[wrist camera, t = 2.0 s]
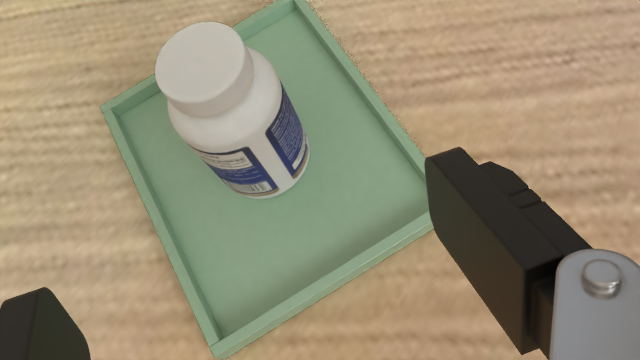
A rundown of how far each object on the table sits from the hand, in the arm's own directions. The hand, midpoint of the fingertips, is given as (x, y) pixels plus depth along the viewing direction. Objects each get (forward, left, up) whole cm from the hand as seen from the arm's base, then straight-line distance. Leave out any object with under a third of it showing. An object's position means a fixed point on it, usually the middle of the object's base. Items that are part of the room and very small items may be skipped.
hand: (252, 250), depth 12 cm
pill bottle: (-11, -3, -17) cm, 21 cm away
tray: (-11, -3, -17) cm, 21 cm away
